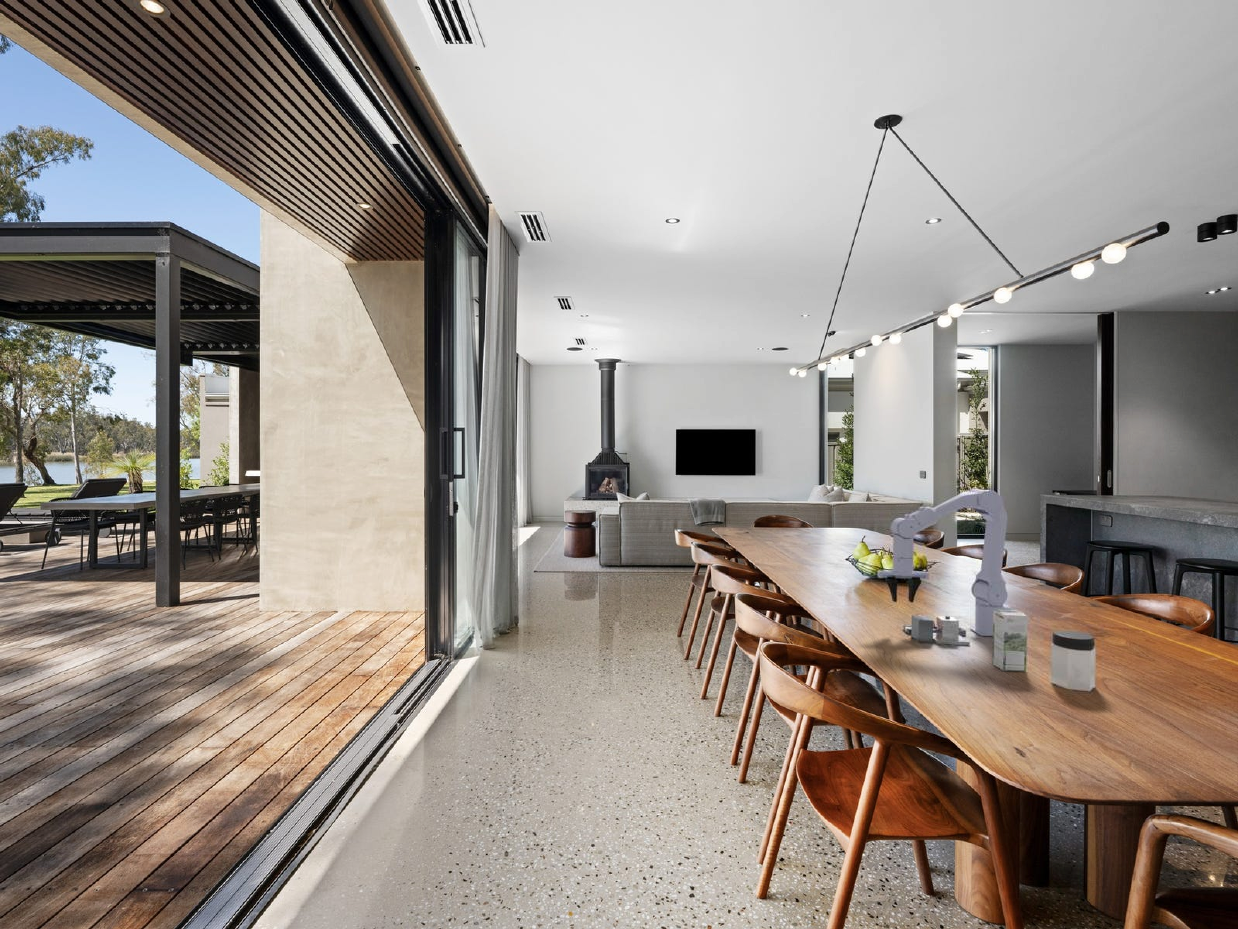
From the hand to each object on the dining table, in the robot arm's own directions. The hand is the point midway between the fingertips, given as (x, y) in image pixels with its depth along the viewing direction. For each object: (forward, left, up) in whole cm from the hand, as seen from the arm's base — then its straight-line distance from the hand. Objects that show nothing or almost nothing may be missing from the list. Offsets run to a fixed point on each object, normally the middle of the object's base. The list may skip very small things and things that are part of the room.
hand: (902, 601), depth 198 cm
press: (-9, +5, -9) cm, 14 cm away
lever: (-5, 0, -9) cm, 11 cm away
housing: (-10, +8, -8) cm, 15 cm away
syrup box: (-16, +32, -10) cm, 37 cm away
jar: (-25, +43, -10) cm, 51 cm away
